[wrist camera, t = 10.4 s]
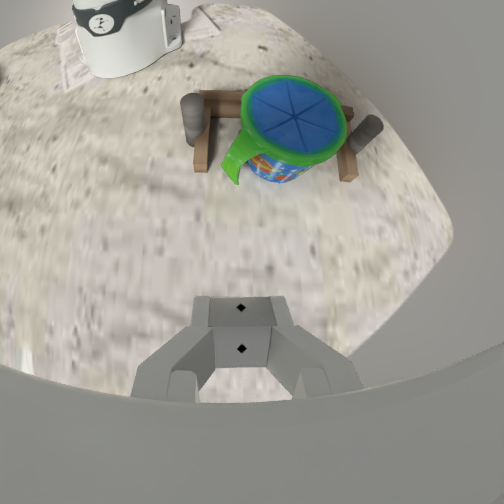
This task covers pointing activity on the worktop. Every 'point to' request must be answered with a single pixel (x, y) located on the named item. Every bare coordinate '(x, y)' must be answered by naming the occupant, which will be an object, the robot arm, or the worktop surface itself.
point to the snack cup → (285, 129)
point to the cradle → (229, 105)
